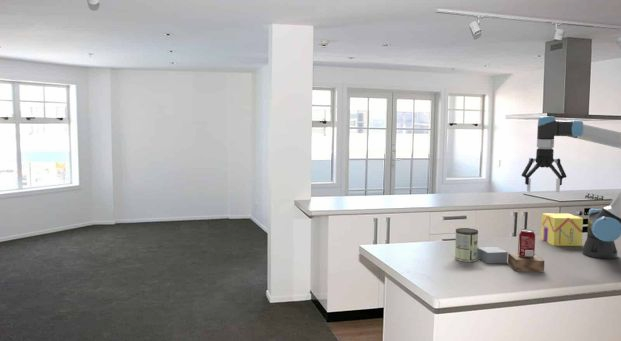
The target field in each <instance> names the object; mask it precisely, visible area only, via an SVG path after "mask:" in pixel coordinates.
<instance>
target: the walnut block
mask: <svg viewBox="0 0 621 341" xmlns="http://www.w3.org/2000/svg"><path fill="white" fill-rule="evenodd" d="M507 265H509V266H510V268H512V269H513V270H514V272H535V273H544V272H545V260H544V259H543V258H541V257H540V256H539V255H538V254H536V253H534V257H532V258H523V257H520V256H519V255H518V252H508V257H507Z"/></svg>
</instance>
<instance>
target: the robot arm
mask: <svg viewBox="0 0 621 341" xmlns="http://www.w3.org/2000/svg"><path fill="white" fill-rule="evenodd" d="M536 130H537V135H536V136H537V138H536V148H537V149H536V154H535V156H536V157H535V158H532V157H529V158H528V162H527V164H526V166H525V168H524V169H523V171H522V173H521V177H524V178H525V179H524V180H525V182H524V185H526V191H527V192H529V193H530V192H531V181H532V178H531V176H532V175H533V174H534V173H535V172H536V171H537V170H538V169H539V168H550V169H551V171H552V173H553V174H555V176H556V177H557V178H555V180H556V181H555V192H556V193H561V192H560V188H561V186H562V184H563V179H564V178H565V179H566V178H567V174H566V171H565V170H564V168H563V166H562V163H561V159H560V158H559V157H557V158H554V153H555V152H554V151H555V150H554V148H555V137H568V138H572V139H577V140H583V141H586V142H590V143H591V142H592V143H594V144H599V145H603V146H604V145H605V146H608V147H610V148H611V147H612V148H617V149H621V131H615V130H612V129H607V128H601V127H598V126H593V125H590V124H589V125H588V124H584V122H583V121H582V120H577V119H576V120H575V119H574V120H557V119H556V116H550V115H549V116H546V115H544V116H539V117H538V120H537V129H536ZM533 163H534V164H535V163H536V164H535V165H534V166H533V167H532V165H533ZM553 163H555V165H556V166H557V168H556V167H555V166H554V165H553ZM531 167H532V168H531ZM530 168H531V169H530ZM557 169H558V170H559V171H558V170H557ZM587 216H588V217H587V218H588V220H587V233H586V234H587V235H586V236H587V237H586V240H585V242H584V244H583V245H582V246H583V247H582V253H581V254H582V255H585V256H587V257H591V258H596V259H597V258H598V259H608V260H609V259H617V258H618V250H617V245H616V243H615V241H616V240H618V239H619V238H620V237H621V189H620V190H619V192H618V193H617V194H616V195H615V197H614V199H612V202H610V204H609V205H608V206H604V207H602V209H601V208H599V209H598V208H590V209H589V210H588V213H587Z"/></svg>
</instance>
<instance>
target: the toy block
mask: <svg viewBox="0 0 621 341" xmlns="http://www.w3.org/2000/svg"><path fill="white" fill-rule="evenodd" d="M583 224H584V218H582V217H580V216H577V215H574V214H572V213H567V212H566V213H557V212H556V213H554V212H552V213H550V212H549V213H544V212H543V213H541V227H540V228H541V229H540V230H541V231H540V240H542V241H543V240H544V242H546V243H547V244H549V245H552V246H557V247H558V246H560V247H561V246H564V247H565V246H566V247H568V246H571V247H572V246H573V247H574V246H575V247H582V246H583V245H582V243H583V242H582V241H583Z"/></svg>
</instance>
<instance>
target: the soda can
mask: <svg viewBox="0 0 621 341" xmlns="http://www.w3.org/2000/svg"><path fill="white" fill-rule="evenodd" d="M517 243H518V245H517V246H518V247H517V253H518V255H519V256H520V257H523V258H532V257H534V254H535V252H536V250H535V249H536V247H535V246H536V233H535V230H533V229H528V228H522V229H520V231H519V233H518V242H517Z"/></svg>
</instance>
